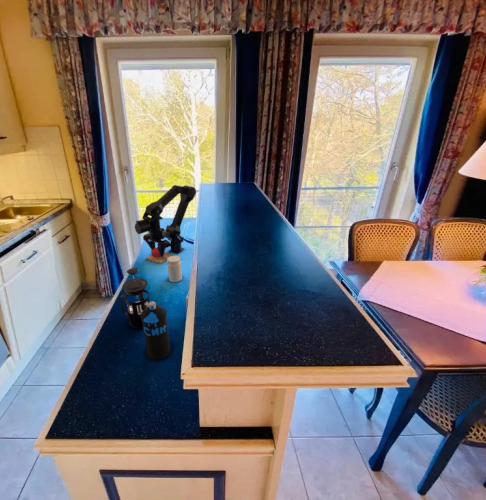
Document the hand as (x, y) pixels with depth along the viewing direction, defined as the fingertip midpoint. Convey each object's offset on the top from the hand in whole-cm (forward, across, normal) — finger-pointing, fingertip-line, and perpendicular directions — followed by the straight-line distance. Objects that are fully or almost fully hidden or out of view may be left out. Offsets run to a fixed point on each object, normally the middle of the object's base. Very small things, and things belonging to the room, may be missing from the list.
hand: (158, 254), depth 156 cm
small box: (+2, -52, +17) cm, 55 cm away
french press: (+2, -39, +35) cm, 53 cm away
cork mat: (+2, 0, 0) cm, 2 cm away
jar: (+2, -24, +7) cm, 25 cm away
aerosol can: (+2, -57, +39) cm, 69 cm away
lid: (-2, 0, 0) cm, 2 cm away
